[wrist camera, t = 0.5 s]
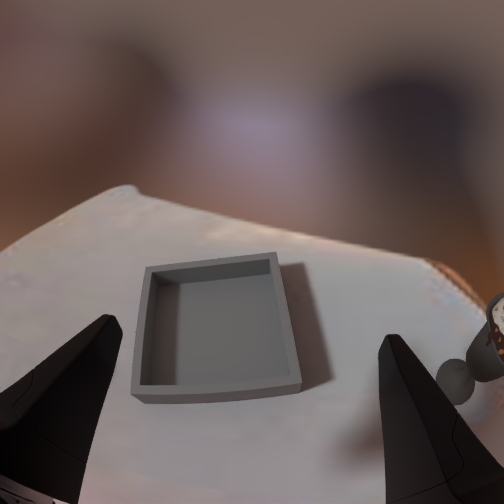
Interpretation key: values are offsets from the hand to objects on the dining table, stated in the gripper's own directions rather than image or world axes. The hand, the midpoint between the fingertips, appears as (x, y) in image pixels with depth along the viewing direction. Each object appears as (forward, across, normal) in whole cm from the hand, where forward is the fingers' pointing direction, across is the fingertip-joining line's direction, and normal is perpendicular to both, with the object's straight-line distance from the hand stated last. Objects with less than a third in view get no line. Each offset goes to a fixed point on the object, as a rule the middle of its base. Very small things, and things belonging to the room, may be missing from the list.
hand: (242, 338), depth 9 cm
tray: (+11, +5, +14) cm, 19 cm away
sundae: (+6, -18, +16) cm, 25 cm away
